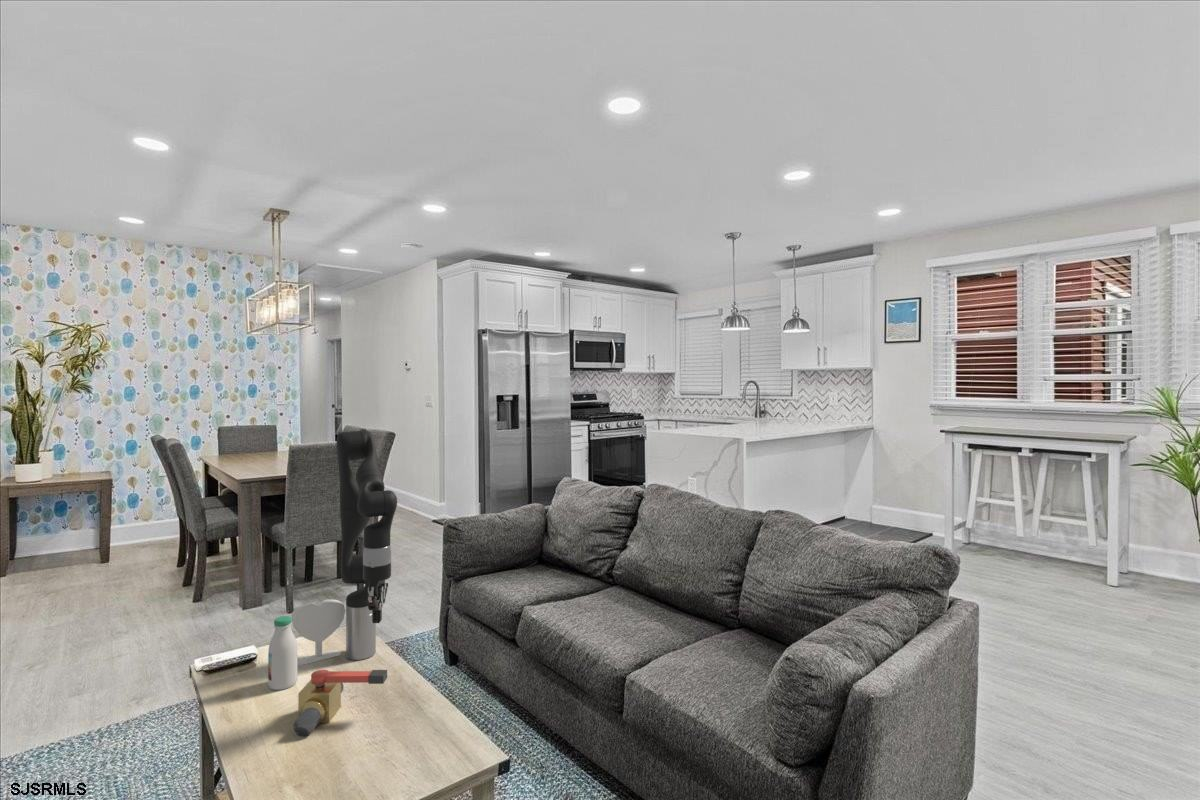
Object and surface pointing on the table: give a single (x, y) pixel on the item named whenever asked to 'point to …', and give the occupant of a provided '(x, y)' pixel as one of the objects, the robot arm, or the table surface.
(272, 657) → the milk bottle
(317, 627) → the heart sculpture
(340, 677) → the lever
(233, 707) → the table surface
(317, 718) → the valve body
